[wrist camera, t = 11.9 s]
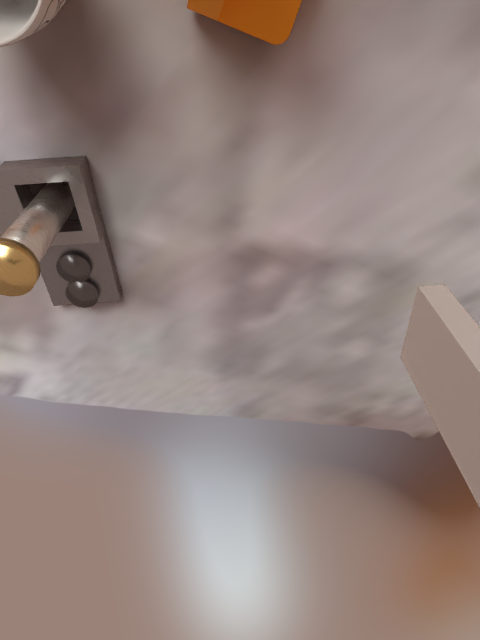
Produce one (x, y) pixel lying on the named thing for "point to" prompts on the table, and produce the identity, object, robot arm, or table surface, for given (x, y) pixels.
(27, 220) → the pin
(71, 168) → the chain end
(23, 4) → the mug
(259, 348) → the table surface
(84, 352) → the table surface
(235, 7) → the bracket
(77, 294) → the grey latch plate
